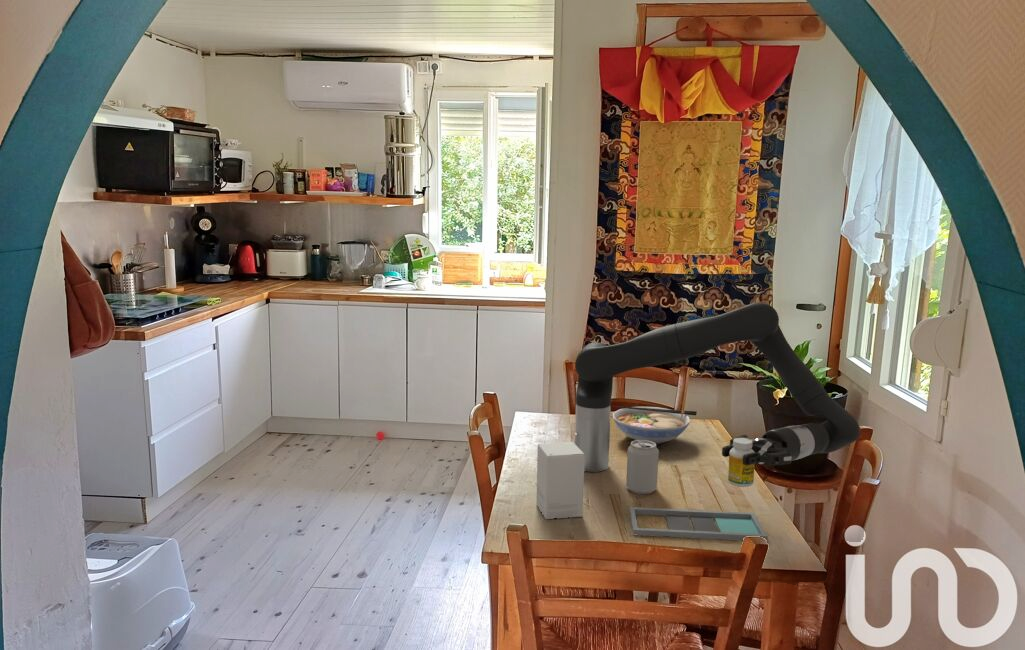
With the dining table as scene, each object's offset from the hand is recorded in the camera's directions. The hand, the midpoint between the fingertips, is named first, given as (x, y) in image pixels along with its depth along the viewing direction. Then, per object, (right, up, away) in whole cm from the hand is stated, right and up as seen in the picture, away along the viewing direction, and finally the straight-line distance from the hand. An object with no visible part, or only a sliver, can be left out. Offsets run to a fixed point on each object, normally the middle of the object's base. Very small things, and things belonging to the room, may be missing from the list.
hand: (733, 456), depth 161 cm
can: (-15, -13, +25) cm, 32 cm away
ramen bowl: (-6, -7, +63) cm, 64 cm away
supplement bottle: (+2, -6, +2) cm, 7 cm away
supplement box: (-37, -15, +12) cm, 41 cm away
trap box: (-7, -16, +5) cm, 18 cm away
